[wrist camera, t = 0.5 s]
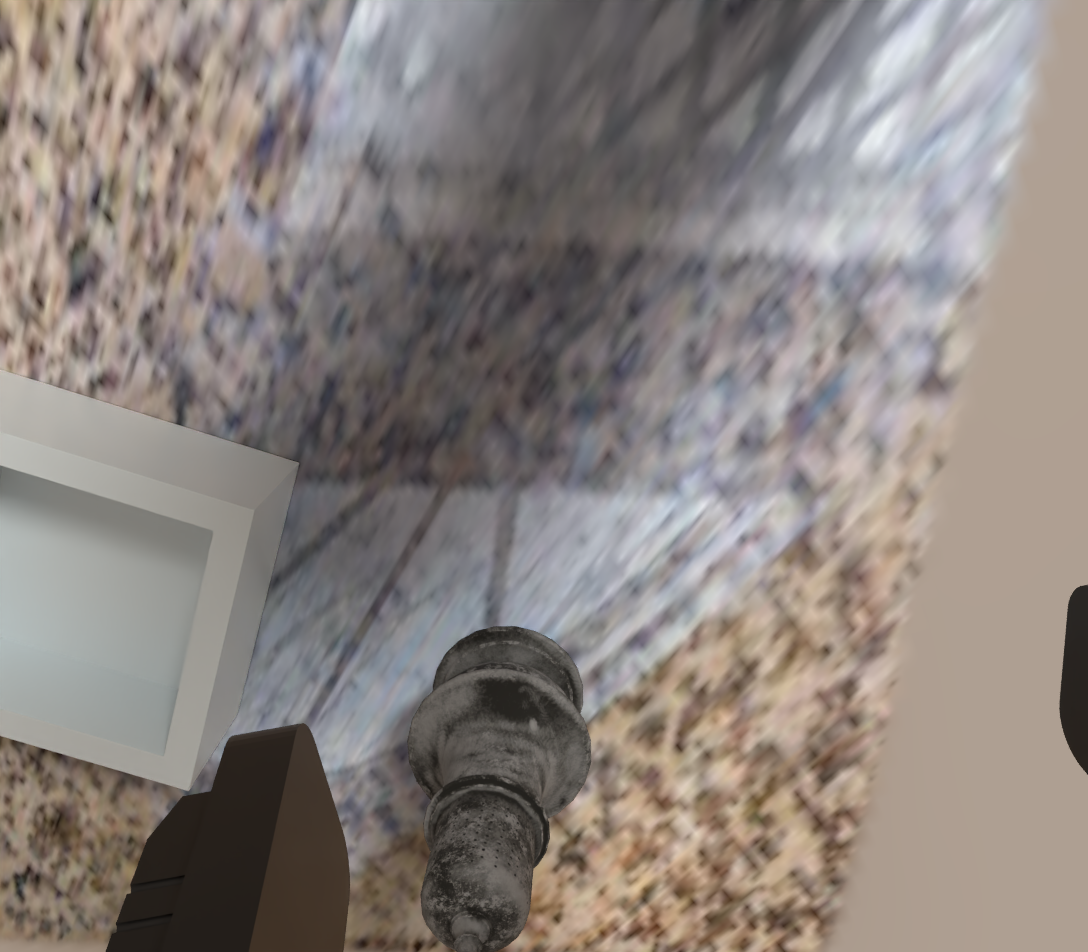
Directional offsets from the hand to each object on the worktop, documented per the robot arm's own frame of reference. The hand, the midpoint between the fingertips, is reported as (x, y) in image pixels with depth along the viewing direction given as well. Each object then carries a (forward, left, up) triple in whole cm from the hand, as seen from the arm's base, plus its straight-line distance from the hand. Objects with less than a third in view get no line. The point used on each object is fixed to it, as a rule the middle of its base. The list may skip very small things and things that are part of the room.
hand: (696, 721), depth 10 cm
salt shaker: (+13, 0, -22) cm, 25 cm away
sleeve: (+12, -14, -21) cm, 28 cm away
